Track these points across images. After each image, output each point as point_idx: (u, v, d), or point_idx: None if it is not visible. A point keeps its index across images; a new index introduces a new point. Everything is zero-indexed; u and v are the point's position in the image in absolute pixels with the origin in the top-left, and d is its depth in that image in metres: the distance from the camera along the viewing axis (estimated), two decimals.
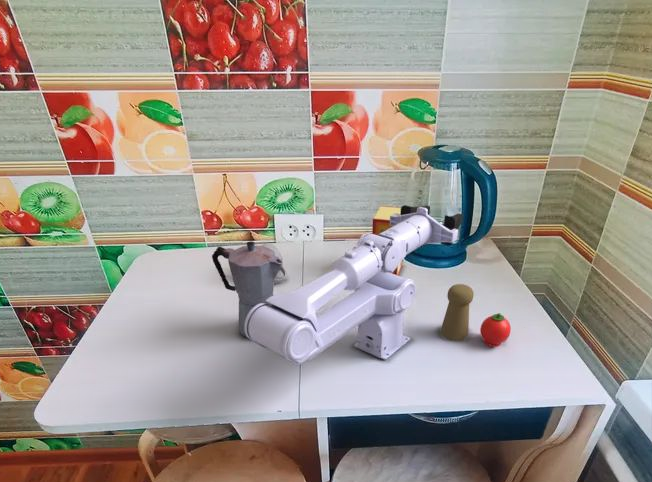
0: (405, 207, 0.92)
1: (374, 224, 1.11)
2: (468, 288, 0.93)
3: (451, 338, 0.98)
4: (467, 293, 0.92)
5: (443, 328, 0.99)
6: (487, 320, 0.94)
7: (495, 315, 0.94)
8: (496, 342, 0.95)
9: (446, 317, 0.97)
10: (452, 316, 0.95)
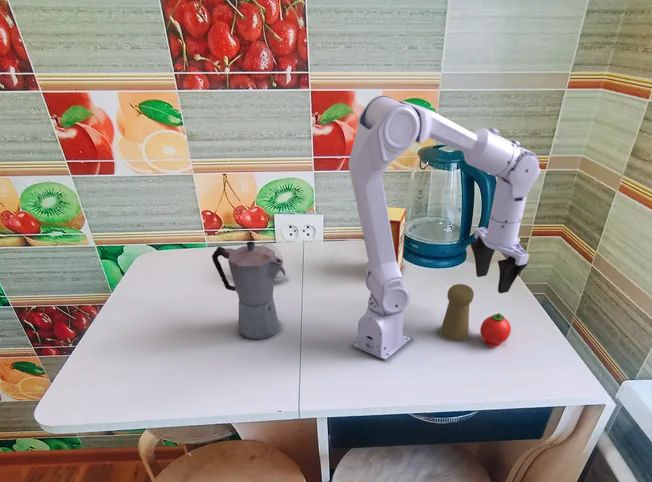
0: None
1: None
2: (468, 288, 0.93)
3: (451, 338, 0.98)
4: (467, 293, 0.92)
5: (443, 328, 0.99)
6: (487, 320, 0.94)
7: (495, 315, 0.94)
8: (496, 342, 0.95)
9: (446, 317, 0.97)
10: (452, 316, 0.95)
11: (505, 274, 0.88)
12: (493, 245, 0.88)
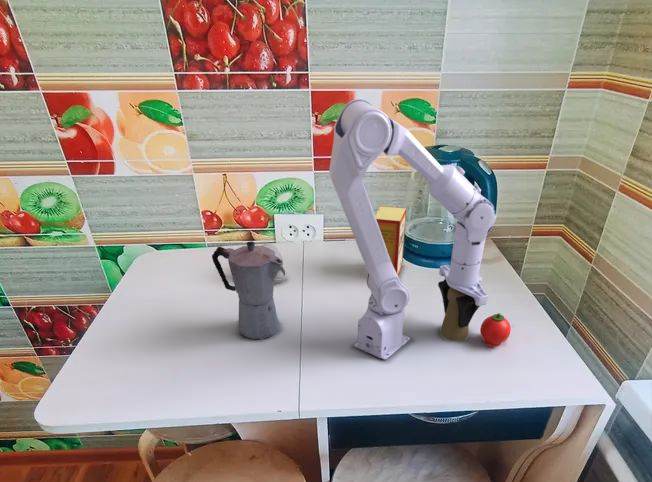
0: None
1: None
2: None
3: (451, 338, 0.98)
4: None
5: (443, 328, 0.99)
6: (487, 320, 0.94)
7: (495, 315, 0.94)
8: (496, 342, 0.95)
9: (446, 317, 0.97)
10: (452, 316, 0.95)
11: (463, 310, 0.92)
12: (454, 285, 0.91)
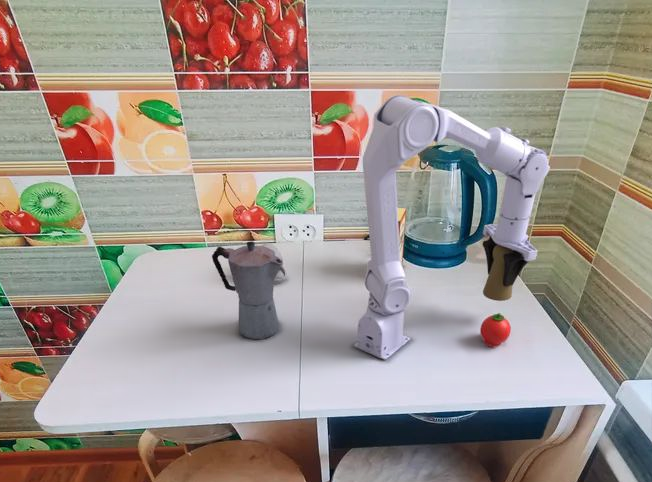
0: None
1: None
2: None
3: (495, 298, 0.97)
4: None
5: (487, 288, 0.98)
6: (487, 320, 0.94)
7: (495, 315, 0.94)
8: (496, 342, 0.95)
9: (490, 276, 0.97)
10: (497, 275, 0.95)
11: (510, 267, 0.91)
12: (502, 241, 0.90)
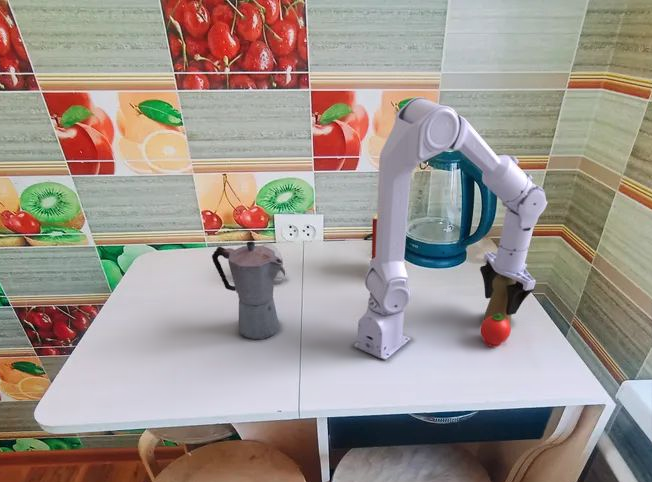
0: None
1: (374, 224, 1.11)
2: None
3: None
4: (513, 281, 0.96)
5: (487, 316, 1.02)
6: (487, 320, 0.94)
7: (495, 315, 0.94)
8: (496, 342, 0.95)
9: (490, 305, 1.01)
10: (497, 304, 0.99)
11: (513, 298, 0.94)
12: (502, 271, 0.94)
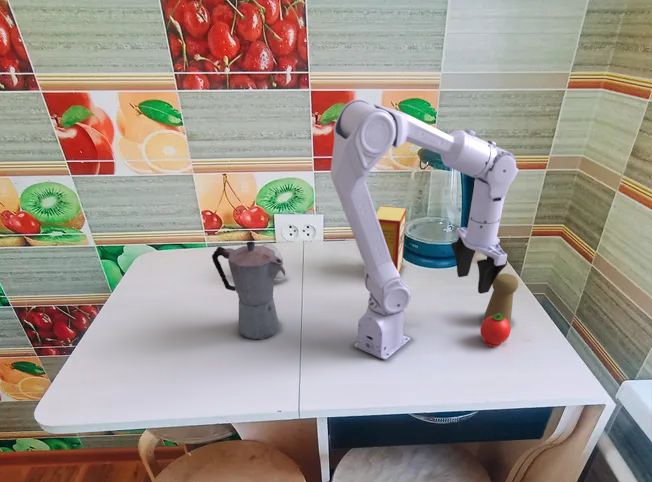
0: None
1: None
2: (513, 277, 0.97)
3: None
4: (513, 281, 0.96)
5: (487, 316, 1.02)
6: (487, 320, 0.94)
7: (495, 315, 0.94)
8: (496, 342, 0.95)
9: (490, 305, 1.01)
10: (497, 304, 0.99)
11: (484, 274, 0.88)
12: (472, 245, 0.88)
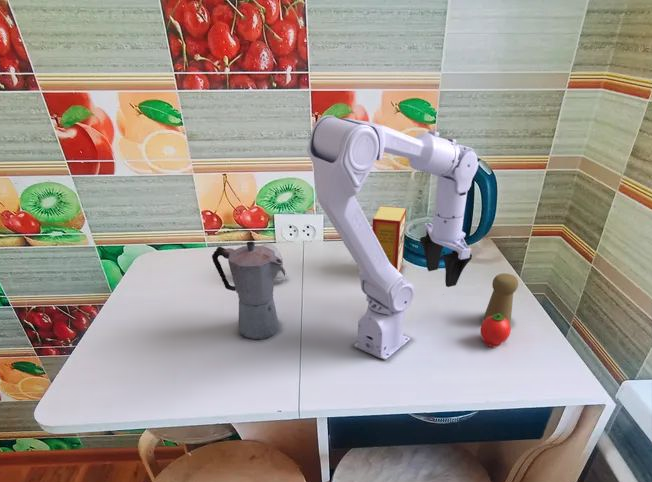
0: None
1: (374, 224, 1.11)
2: (513, 277, 0.97)
3: None
4: (513, 281, 0.96)
5: (487, 316, 1.02)
6: (487, 320, 0.94)
7: (495, 315, 0.94)
8: (496, 342, 0.95)
9: (490, 305, 1.01)
10: (497, 304, 0.99)
11: (450, 268, 0.91)
12: (438, 240, 0.90)
